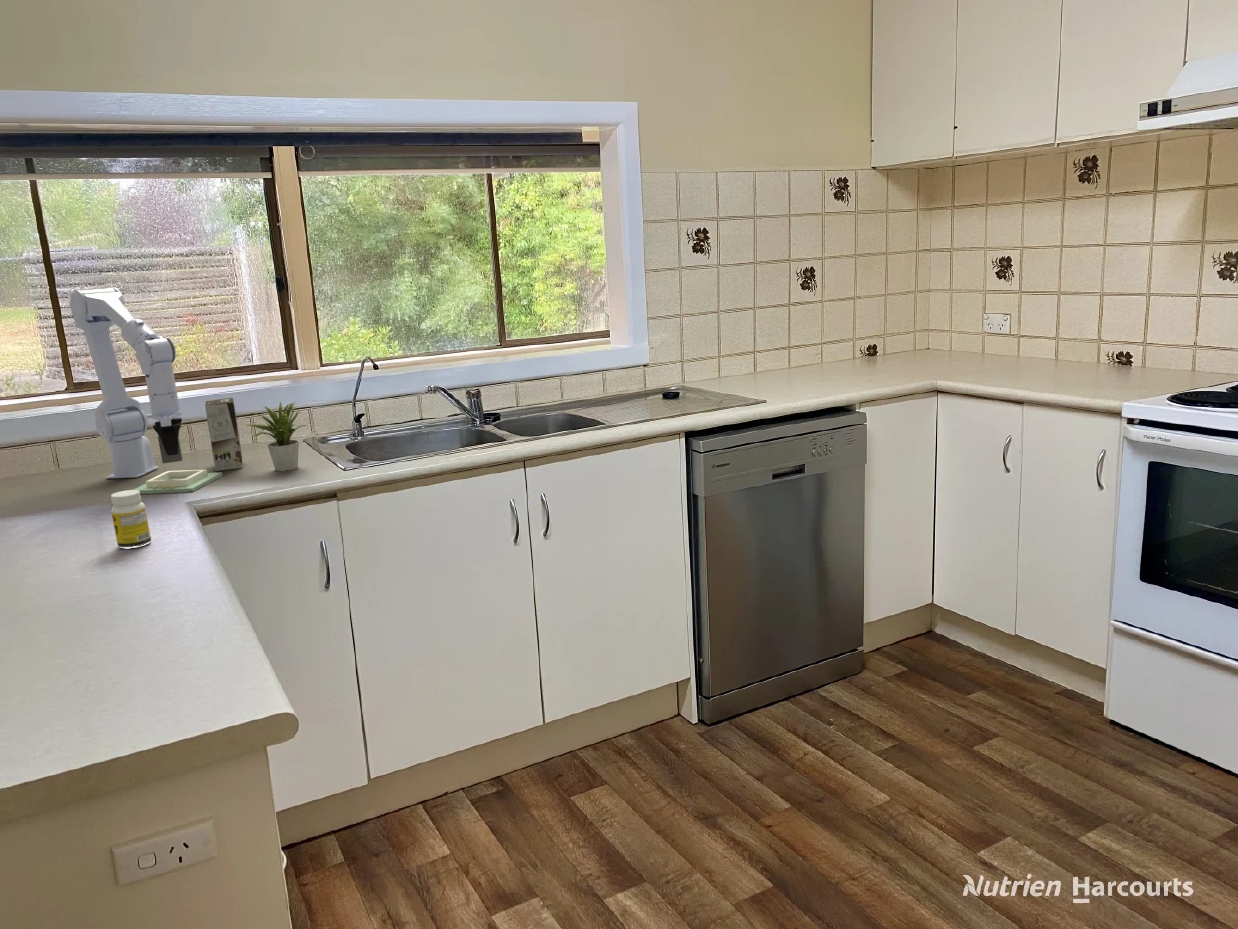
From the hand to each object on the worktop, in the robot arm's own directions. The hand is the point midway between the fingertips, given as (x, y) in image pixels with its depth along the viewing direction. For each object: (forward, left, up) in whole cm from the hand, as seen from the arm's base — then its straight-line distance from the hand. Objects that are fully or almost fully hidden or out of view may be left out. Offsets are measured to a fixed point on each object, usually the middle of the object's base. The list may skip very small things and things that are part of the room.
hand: (172, 452), depth 212 cm
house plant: (-13, +20, -8) cm, 25 cm away
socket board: (0, 0, -7) cm, 7 cm away
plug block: (0, 0, -2) cm, 2 cm away
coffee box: (-17, +4, -8) cm, 19 cm away
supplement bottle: (+44, +15, -8) cm, 47 cm away
